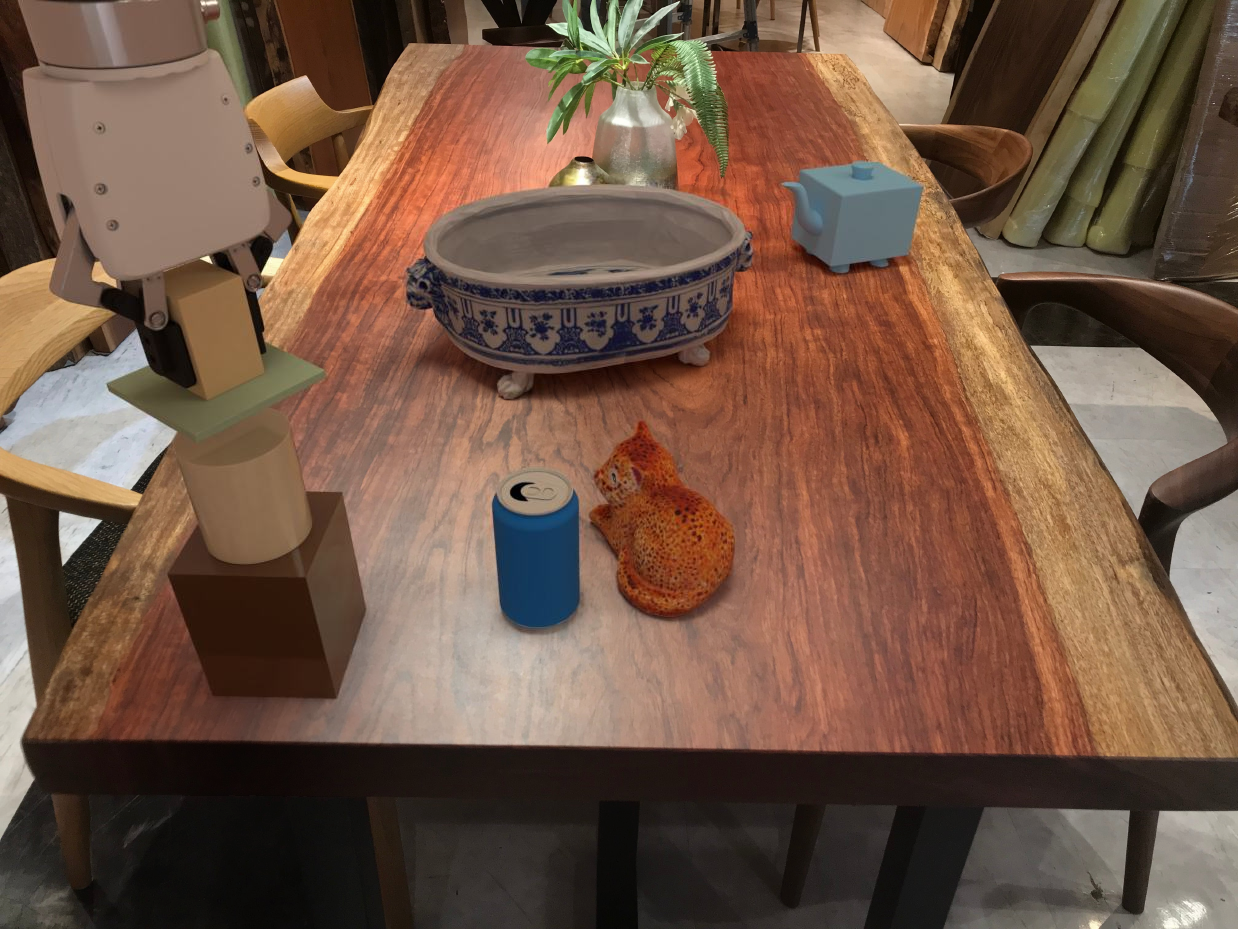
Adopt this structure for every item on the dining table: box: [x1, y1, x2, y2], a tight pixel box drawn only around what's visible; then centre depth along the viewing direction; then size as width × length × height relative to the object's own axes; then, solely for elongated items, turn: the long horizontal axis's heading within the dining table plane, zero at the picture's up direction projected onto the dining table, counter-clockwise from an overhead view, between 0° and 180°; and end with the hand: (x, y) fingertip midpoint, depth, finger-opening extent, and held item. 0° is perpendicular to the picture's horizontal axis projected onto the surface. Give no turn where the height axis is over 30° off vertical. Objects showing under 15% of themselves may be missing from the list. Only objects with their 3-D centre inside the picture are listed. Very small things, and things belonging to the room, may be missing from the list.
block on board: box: [105, 258, 327, 443], centre depth 53 cm, size 9×9×7 cm
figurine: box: [588, 420, 736, 618], centre depth 75 cm, size 15×11×10 cm
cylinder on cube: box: [166, 406, 367, 699], centre depth 62 cm, size 9×9×20 cm
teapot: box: [780, 160, 925, 274], centre depth 127 cm, size 22×11×14 cm, turn 111°
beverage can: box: [491, 466, 581, 629], centre depth 69 cm, size 6×6×12 cm
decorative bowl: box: [404, 183, 755, 400], centre depth 105 cm, size 42×27×15 cm, turn 110°
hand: (212, 360), depth 54 cm, fingers closed on block on board, 4 cm apart
